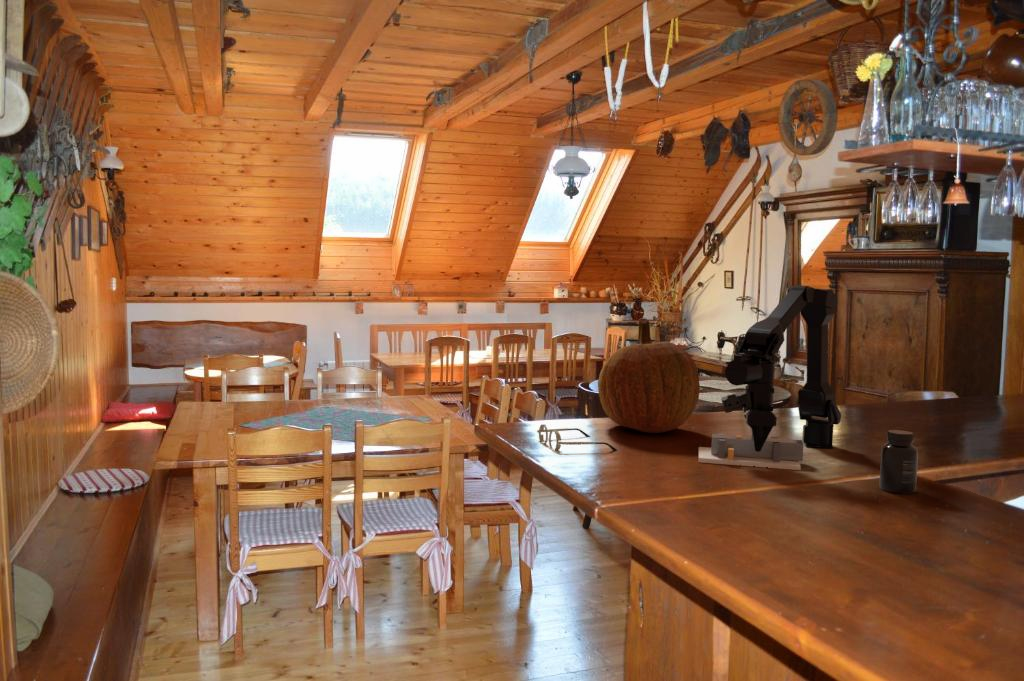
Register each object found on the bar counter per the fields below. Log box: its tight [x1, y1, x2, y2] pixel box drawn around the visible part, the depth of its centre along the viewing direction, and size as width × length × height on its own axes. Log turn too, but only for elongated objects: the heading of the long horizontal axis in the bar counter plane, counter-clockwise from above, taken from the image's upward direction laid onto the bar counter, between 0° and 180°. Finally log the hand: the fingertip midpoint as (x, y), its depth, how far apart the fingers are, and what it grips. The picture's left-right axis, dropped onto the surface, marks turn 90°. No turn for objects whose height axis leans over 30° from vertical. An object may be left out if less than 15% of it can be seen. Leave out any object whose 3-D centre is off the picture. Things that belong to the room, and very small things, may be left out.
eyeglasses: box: [536, 423, 618, 451], centre depth 204 cm, size 17×15×5 cm
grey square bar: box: [710, 433, 805, 462], centre depth 191 cm, size 20×4×4 cm, turn 77°
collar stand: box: [698, 432, 802, 471], centre depth 192 cm, size 22×12×5 cm, turn 77°
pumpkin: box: [597, 317, 701, 434], centre depth 222 cm, size 27×27×30 cm
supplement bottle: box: [878, 429, 919, 495], centre depth 169 cm, size 7×7×12 cm
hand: (757, 449), depth 191 cm, fingers closed on grey square bar, 4 cm apart
